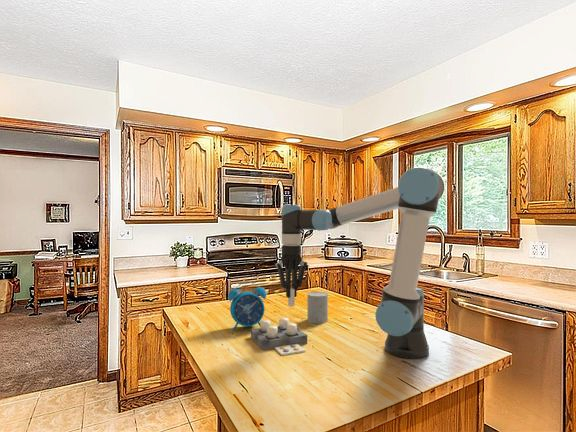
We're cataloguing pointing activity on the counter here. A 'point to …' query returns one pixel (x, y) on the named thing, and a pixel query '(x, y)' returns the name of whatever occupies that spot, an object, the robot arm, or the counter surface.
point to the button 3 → (283, 323)
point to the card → (289, 349)
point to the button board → (277, 338)
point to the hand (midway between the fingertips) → (291, 305)
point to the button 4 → (291, 329)
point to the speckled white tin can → (317, 307)
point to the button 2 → (272, 331)
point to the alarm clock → (247, 306)
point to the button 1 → (264, 325)
